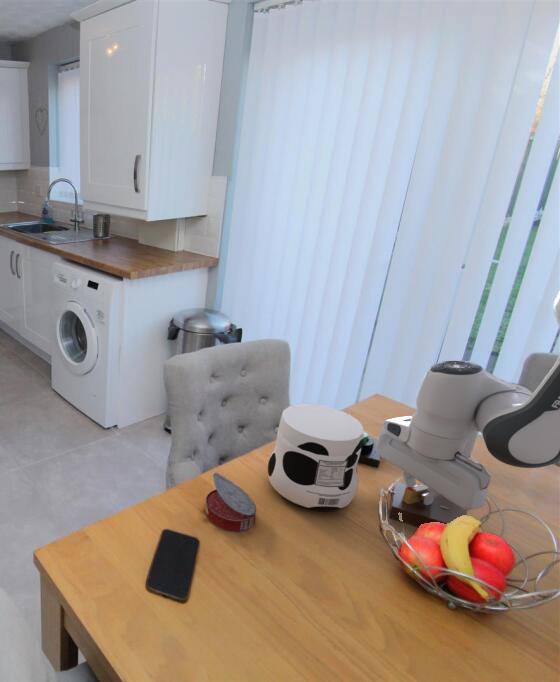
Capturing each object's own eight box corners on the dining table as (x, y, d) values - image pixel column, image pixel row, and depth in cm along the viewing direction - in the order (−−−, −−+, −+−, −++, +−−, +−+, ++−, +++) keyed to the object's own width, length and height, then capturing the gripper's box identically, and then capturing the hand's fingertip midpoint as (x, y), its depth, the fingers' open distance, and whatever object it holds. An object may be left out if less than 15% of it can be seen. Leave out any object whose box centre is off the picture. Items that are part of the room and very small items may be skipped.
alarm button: (367, 438, 119) (369, 432, 118) (366, 444, 116) (367, 438, 116) (350, 433, 121) (352, 427, 120) (349, 440, 118) (350, 434, 118)
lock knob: (425, 494, 100) (429, 482, 99) (432, 499, 99) (436, 486, 97) (401, 500, 99) (405, 487, 97) (408, 504, 97) (412, 491, 96)
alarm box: (380, 448, 121) (384, 434, 119) (377, 468, 113) (381, 454, 112) (335, 436, 126) (338, 423, 125) (329, 455, 119) (332, 441, 117)
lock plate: (461, 512, 99) (465, 499, 98) (464, 542, 91) (469, 529, 90) (385, 489, 106) (388, 477, 105) (382, 516, 99) (385, 503, 98)
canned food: (217, 515, 107) (230, 472, 107) (259, 537, 99) (273, 491, 99) (187, 514, 100) (201, 469, 100) (230, 538, 92) (245, 489, 92)
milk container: (293, 459, 118) (304, 394, 111) (368, 497, 104) (387, 425, 98) (249, 486, 109) (259, 416, 103) (325, 531, 95) (342, 454, 89)
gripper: (507, 467, 84) (484, 529, 89) (401, 412, 103) (387, 466, 108) (479, 474, 83) (457, 536, 88) (376, 417, 102) (363, 471, 107)
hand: (418, 497), depth 98 cm, fingers closed, pressing on lock knob
